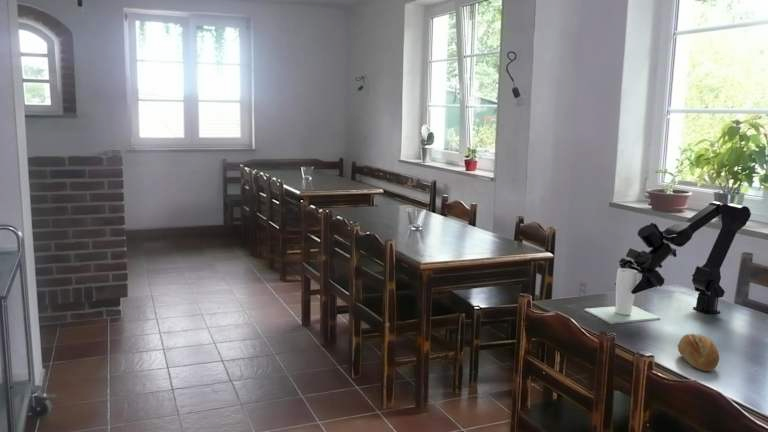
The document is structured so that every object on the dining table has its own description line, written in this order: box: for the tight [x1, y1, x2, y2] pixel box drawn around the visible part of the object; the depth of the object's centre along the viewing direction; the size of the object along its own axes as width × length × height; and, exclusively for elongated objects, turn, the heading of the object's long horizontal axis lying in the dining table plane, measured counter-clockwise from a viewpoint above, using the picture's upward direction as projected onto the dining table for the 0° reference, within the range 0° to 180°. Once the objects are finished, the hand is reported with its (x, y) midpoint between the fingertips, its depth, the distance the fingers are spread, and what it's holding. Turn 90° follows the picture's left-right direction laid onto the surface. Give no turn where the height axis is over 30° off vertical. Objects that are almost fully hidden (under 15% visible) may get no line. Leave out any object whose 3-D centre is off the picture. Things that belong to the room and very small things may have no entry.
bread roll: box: [677, 333, 720, 372], centre depth 181 cm, size 10×15×8 cm, turn 175°
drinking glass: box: [615, 267, 639, 315], centre depth 221 cm, size 7×7×15 cm
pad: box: [583, 305, 661, 325], centre depth 222 cm, size 20×14×1 cm
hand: (623, 289), depth 221 cm, fingers open, 9 cm apart
